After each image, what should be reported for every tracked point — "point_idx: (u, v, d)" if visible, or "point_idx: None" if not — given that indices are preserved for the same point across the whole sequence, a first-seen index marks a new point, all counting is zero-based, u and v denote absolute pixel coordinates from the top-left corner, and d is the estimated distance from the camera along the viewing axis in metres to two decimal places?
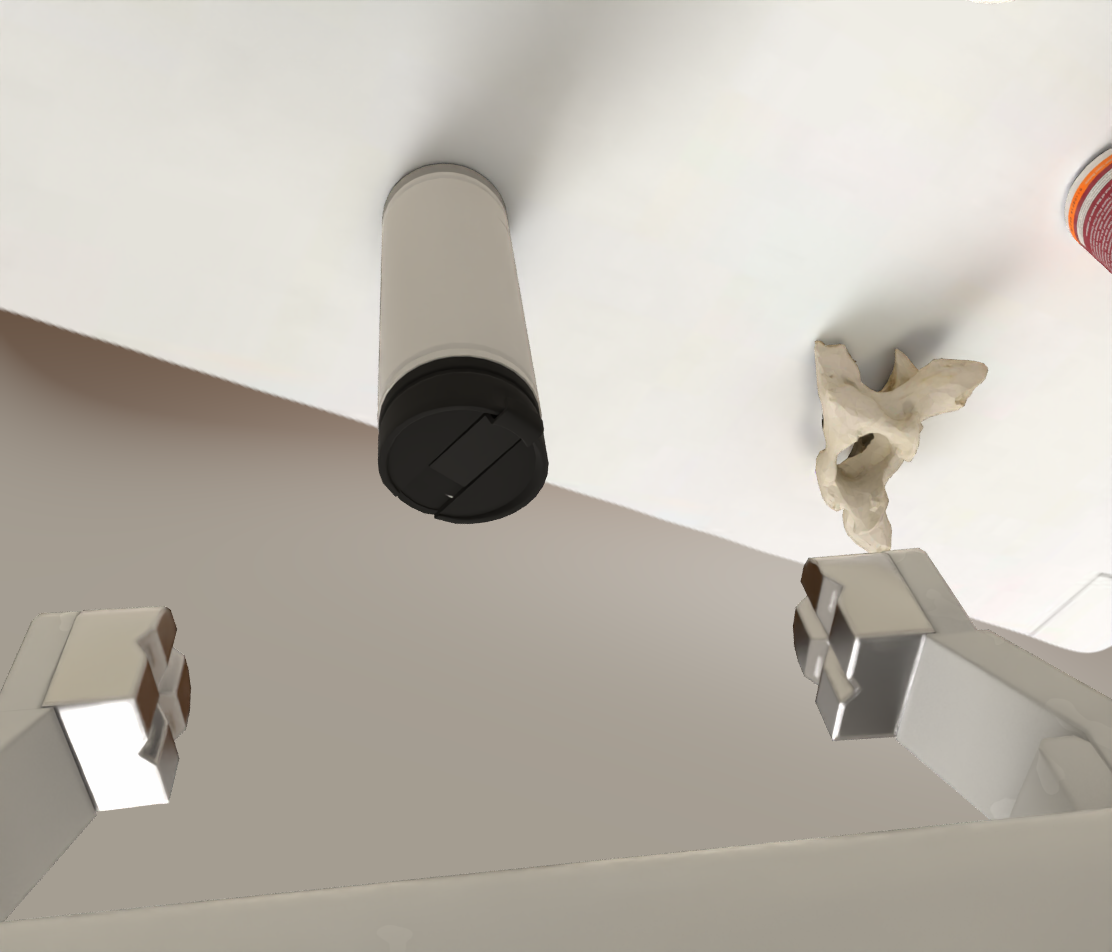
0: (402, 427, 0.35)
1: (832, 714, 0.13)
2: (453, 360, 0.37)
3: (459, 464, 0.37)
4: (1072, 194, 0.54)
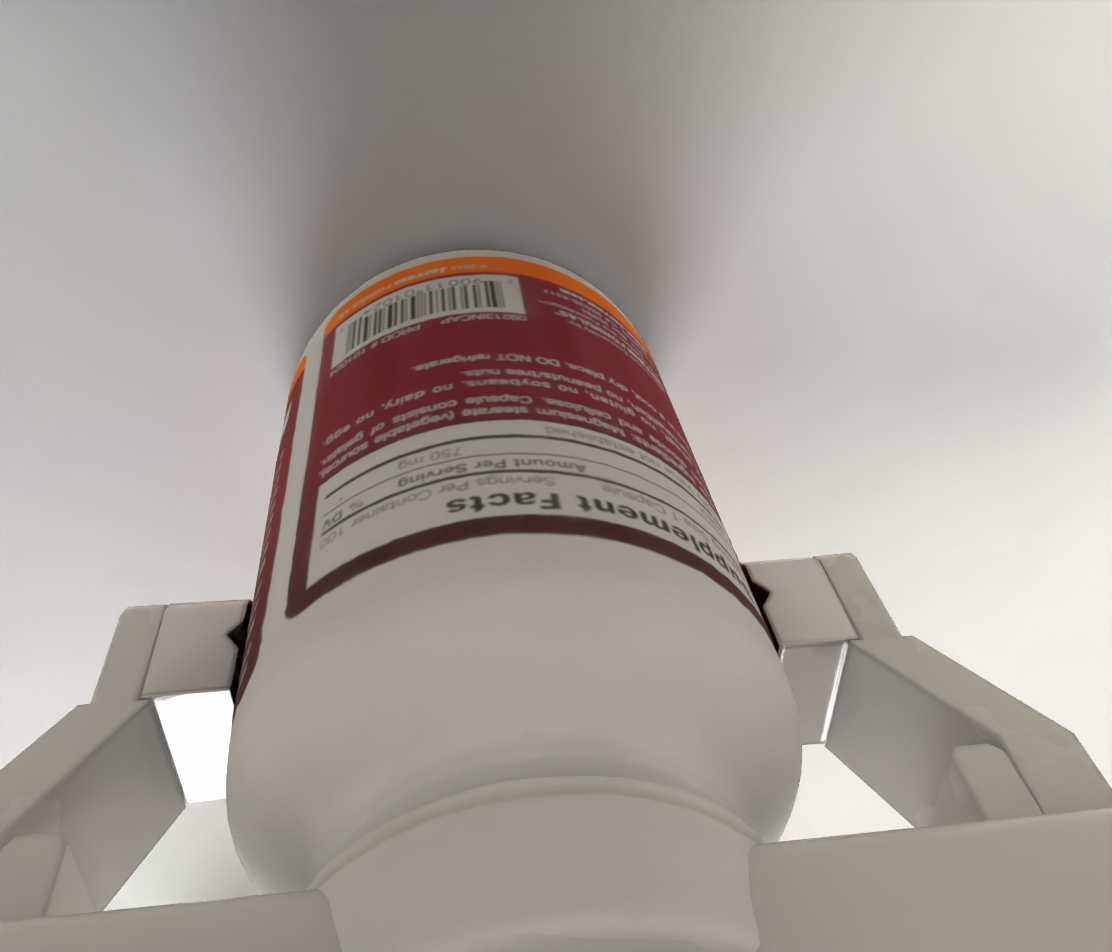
0: None
1: None
2: None
3: None
4: None
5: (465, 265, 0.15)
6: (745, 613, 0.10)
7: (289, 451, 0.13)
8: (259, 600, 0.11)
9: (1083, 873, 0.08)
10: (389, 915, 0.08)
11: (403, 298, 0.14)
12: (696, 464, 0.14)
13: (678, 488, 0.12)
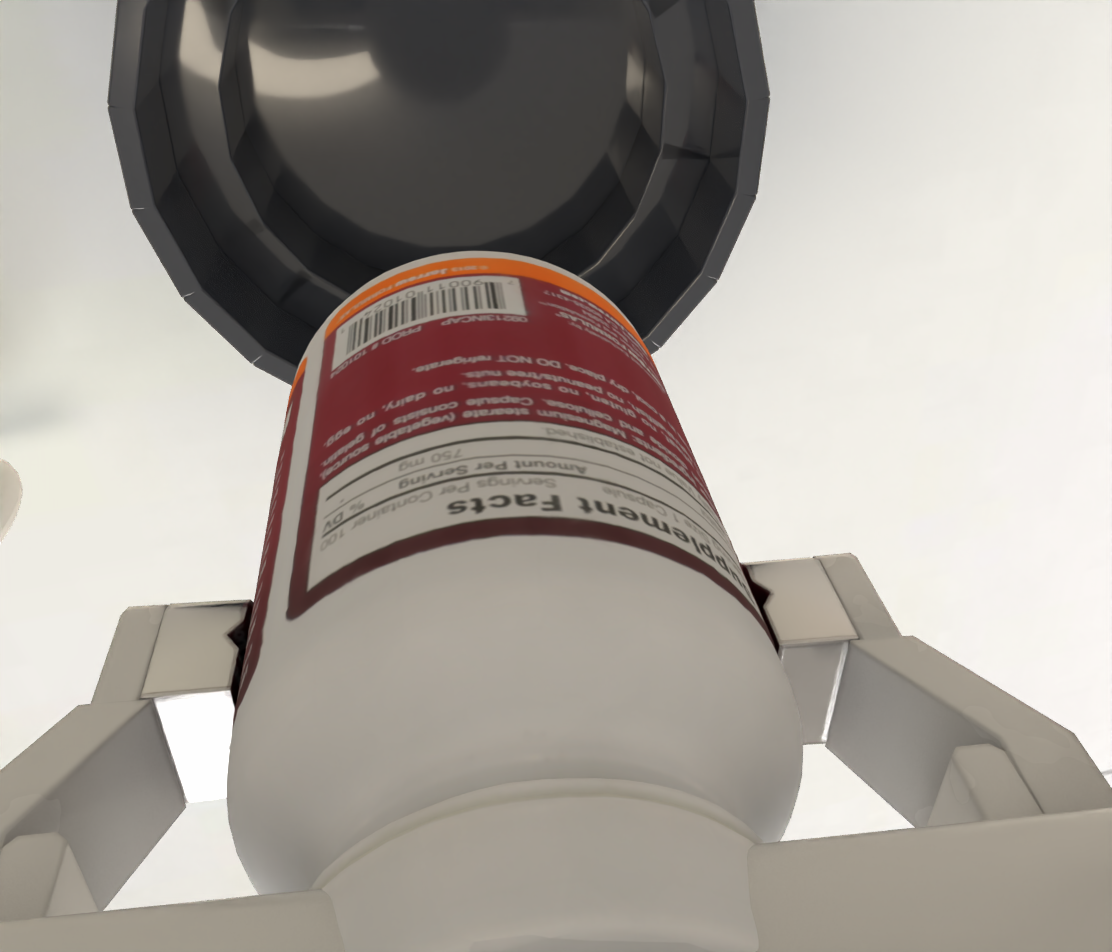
0: None
1: None
2: None
3: None
4: None
5: (465, 266, 0.15)
6: (746, 615, 0.10)
7: (290, 452, 0.13)
8: (260, 602, 0.11)
9: (1083, 873, 0.08)
10: (390, 917, 0.08)
11: (404, 299, 0.14)
12: (697, 465, 0.14)
13: (679, 489, 0.12)
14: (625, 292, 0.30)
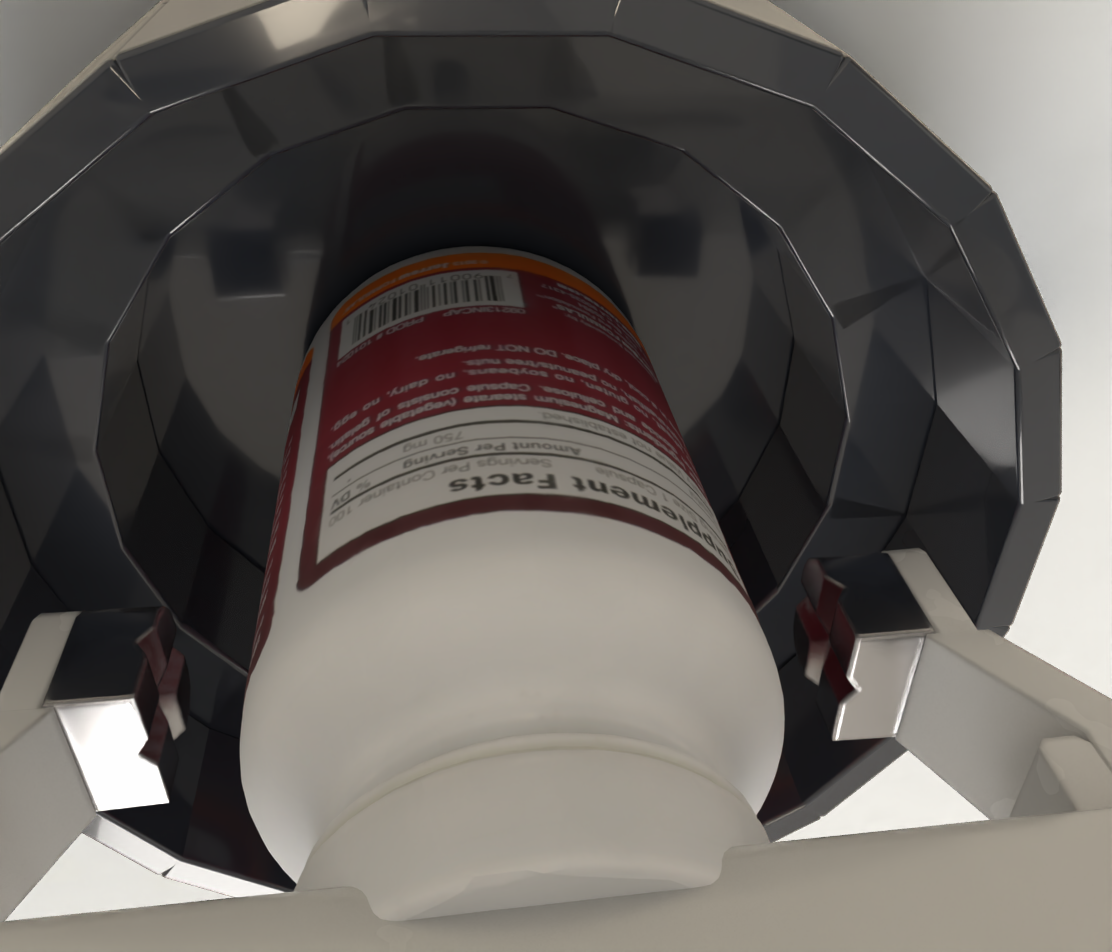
0: None
1: (832, 714, 0.13)
2: None
3: None
4: None
5: (466, 261, 0.15)
6: (730, 588, 0.11)
7: (298, 437, 0.14)
8: (271, 576, 0.12)
9: (1083, 873, 0.08)
10: (395, 856, 0.08)
11: (407, 292, 0.15)
12: (687, 451, 0.14)
13: (669, 470, 0.12)
14: None
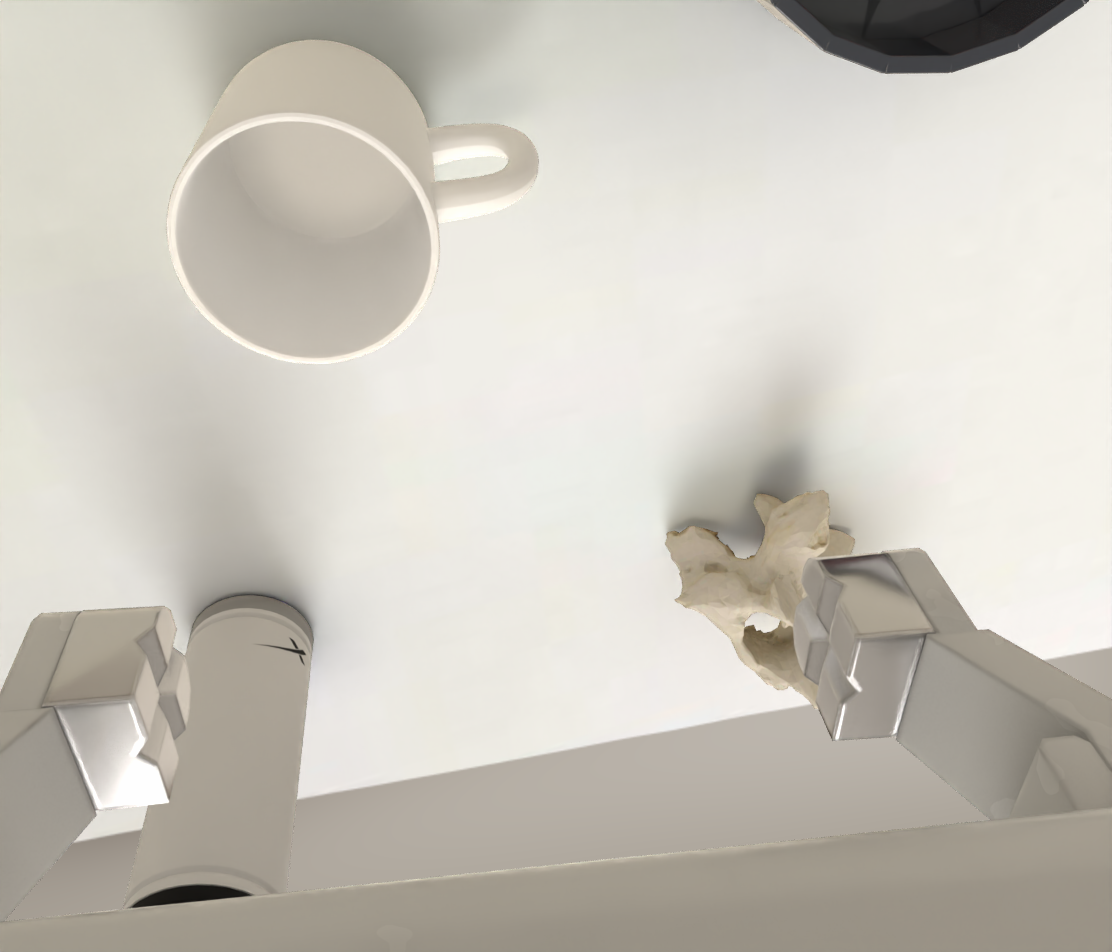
0: None
1: (832, 714, 0.13)
2: (137, 907, 0.39)
3: None
4: None
5: None
6: None
7: None
8: None
9: (1083, 873, 0.08)
10: None
11: None
12: None
13: None
14: None
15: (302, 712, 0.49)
